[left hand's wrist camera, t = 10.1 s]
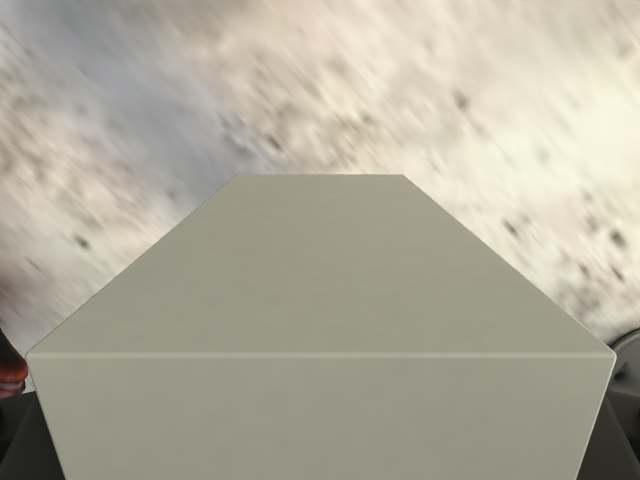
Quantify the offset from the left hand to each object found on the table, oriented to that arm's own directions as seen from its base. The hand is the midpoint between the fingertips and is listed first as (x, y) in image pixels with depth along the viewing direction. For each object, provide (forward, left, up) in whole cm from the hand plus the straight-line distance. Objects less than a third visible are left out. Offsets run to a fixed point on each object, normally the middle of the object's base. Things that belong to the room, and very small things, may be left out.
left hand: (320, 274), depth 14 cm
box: (+4, +7, -2) cm, 8 cm away
